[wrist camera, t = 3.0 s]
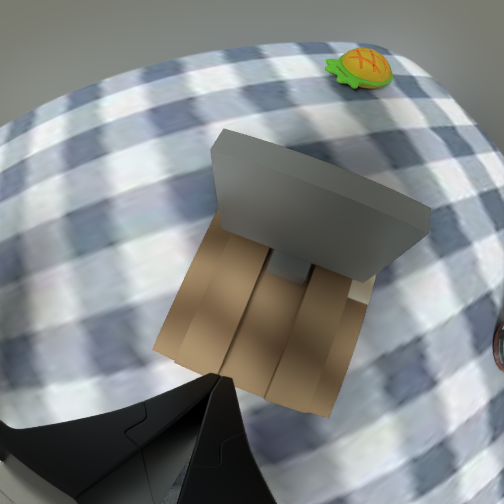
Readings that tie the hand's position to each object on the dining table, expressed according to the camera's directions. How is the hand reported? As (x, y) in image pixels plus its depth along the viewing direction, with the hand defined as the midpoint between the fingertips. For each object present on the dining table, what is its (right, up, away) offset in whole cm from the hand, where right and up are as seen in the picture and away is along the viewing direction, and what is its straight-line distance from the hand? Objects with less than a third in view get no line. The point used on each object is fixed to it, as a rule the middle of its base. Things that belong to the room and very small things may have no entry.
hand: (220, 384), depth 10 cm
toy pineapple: (+15, +27, +24) cm, 39 cm away
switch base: (+4, +3, +15) cm, 16 cm away
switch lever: (+4, +4, +13) cm, 15 cm away
